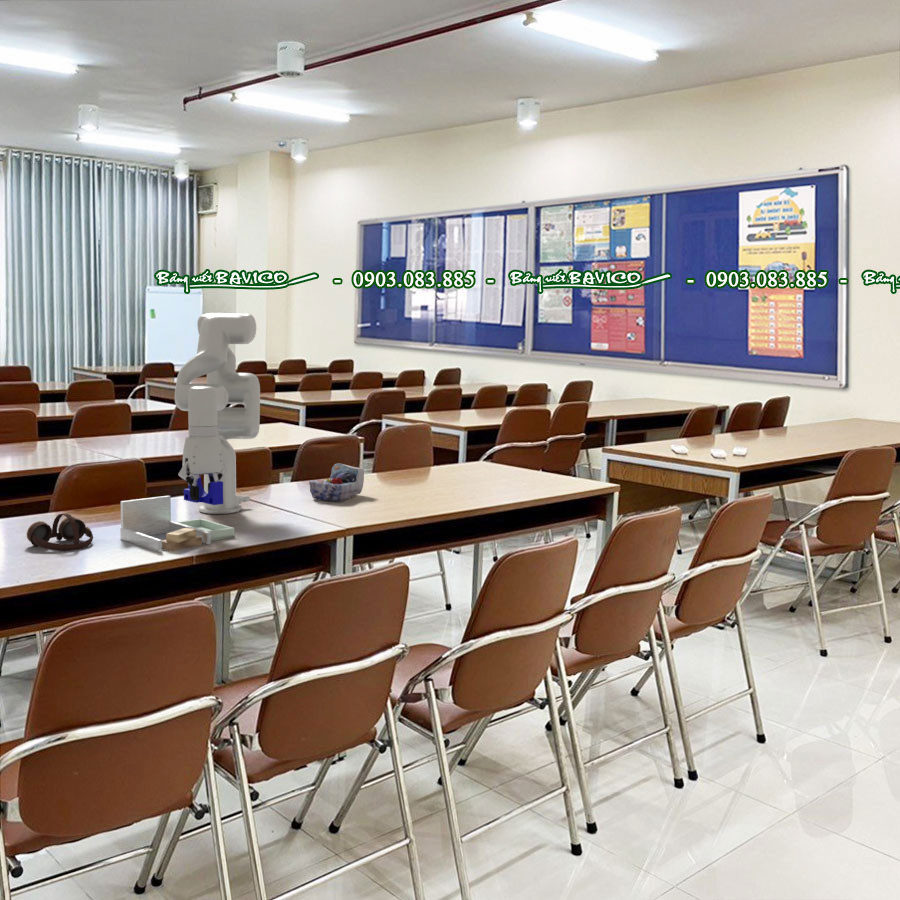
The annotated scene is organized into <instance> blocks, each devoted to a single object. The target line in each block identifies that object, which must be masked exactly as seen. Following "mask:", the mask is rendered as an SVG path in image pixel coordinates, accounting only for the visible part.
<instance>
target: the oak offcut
mask: <svg viewBox="0 0 900 900" xmlns="http://www.w3.org/2000/svg"><path fill="white" fill-rule="evenodd" d="M165 535H166V537H165V538H166V539H165V540H166V541H167V542H176V543H179V542H182V541H185V540H188V539H191V538H194V537H196V529H190V528H183V529H180V530H177V531H173V532H168V533H165Z"/></svg>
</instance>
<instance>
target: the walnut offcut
mask: <svg viewBox="0 0 900 900" xmlns="http://www.w3.org/2000/svg"><path fill="white" fill-rule="evenodd" d="M161 540H162V551H163V550H164V551H166V552H174V551H178V550H184V549H188V548H193V547H199V546H201V545H202V544H203V543H202V537H199V536H196V537H194V538H191V539H188V540H185V541H182V542H179V543H176V542H167V541H166V539H161Z"/></svg>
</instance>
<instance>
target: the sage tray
mask: <svg viewBox="0 0 900 900" xmlns="http://www.w3.org/2000/svg"><path fill="white" fill-rule="evenodd" d="M176 522H177V523H180V524H184V525H187V526H190V527H193V528H197V529H200V530H203V531H207V532H210V533H211V542H213V541H218V540H224V539H230V538H231V539H232V538H235V527H232V526H228V525H225V524H222V523H218V522H215V521H212V520H209V519H205V518H196V519H195V518H194V519H189V520H188V519H187V520H182V521H181V520H180V521H176Z"/></svg>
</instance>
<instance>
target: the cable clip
mask: <svg viewBox="0 0 900 900" xmlns="http://www.w3.org/2000/svg"><path fill="white" fill-rule="evenodd" d="M197 486H199V500H198V501H195V500H191V497H190V485H188V486H187V487H188V488H184V489H183V501H187V502H190V503H191V502H192V503H197V504H198V503H207V504H211V505H218V504H223V482H222V481H217V482H210V489H209V492H208V494H207V493H206V492H205V491H204V486H203V483H202V477H201V476H199V477H198V482H197Z"/></svg>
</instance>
